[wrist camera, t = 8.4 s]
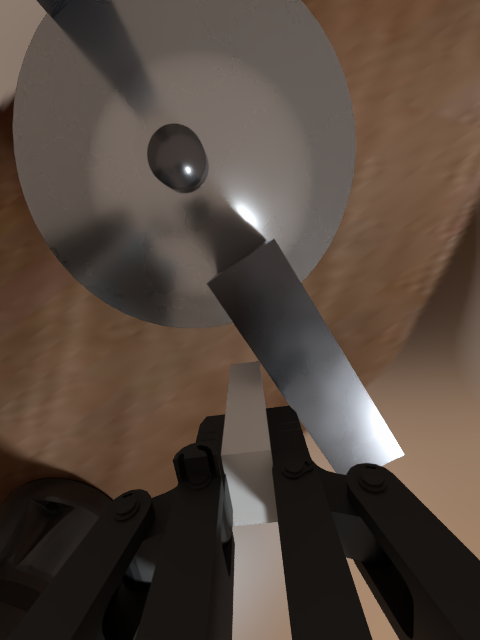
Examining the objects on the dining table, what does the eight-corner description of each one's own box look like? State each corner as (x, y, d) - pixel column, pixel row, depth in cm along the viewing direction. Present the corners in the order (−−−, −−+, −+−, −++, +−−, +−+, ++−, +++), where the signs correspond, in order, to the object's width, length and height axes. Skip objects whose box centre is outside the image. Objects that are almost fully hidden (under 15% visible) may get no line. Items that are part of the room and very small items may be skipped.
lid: (-57, 95, 14) (-231, 9, 9) (212, -169, 11) (183, -506, 6) (231, 462, 19) (226, 540, 14) (459, 340, 16) (553, 382, 11)
